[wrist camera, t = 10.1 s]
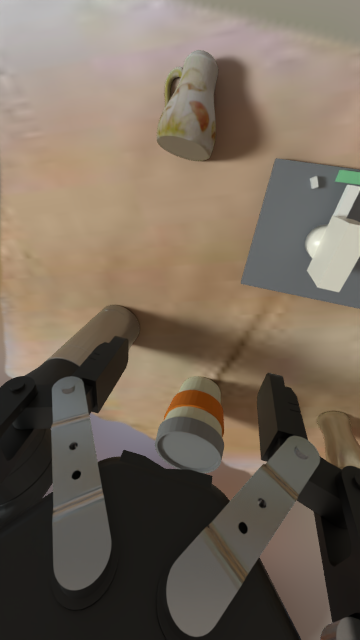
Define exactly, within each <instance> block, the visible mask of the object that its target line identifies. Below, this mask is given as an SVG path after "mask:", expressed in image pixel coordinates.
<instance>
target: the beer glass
mask: <svg viewBox="0 0 360 640" xmlns="http://www.w3.org/2000/svg"><path fill="white" fill-rule="evenodd" d="M317 424H318V426H319V428H320V430H321V432H322V434H323V438H324V444H325V457H326V461H328V462H329V463H331V464H333V465H335V466H337V467H338V468H340V469H343V468H344V467H346V466H355V467H357V468H360V445H359V443H358V442H357V440H356V439H355V437H354V435H353V432H352V427H351V421H350V419H349V417H348V416H347V415H345V414H344V413H341V412H337V411H329V412H325V413H323V414H321V415H320V416H319V417H318V418H317Z"/></svg>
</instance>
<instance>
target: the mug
mask: <svg viewBox="0 0 360 640" xmlns="http://www.w3.org/2000/svg"><path fill="white" fill-rule="evenodd" d="M176 77H180V82H179V85H178V87H177V89H176V90H175V92H174V94H173V96H172V97H171V99H170V90H171V84H172V81H173V80H174V78H176ZM217 77H218V66H217V64H216V61H215V59H214V58H213V57H212V55H210V54H209V53H207V52H205V51H201V50H197V51H194V52H192V53H191V54H190V55H189V56H188V57H187V58H186V60H185V63H184V67H183V68H182V67H176V68H175V69H173V70H172V71H171V72H170V74H169V75H168V77H167V79H166V82H165V94H164V95H165V109H164V111H163V113H162V115H161V117H160V120H159V123H158V128H157V142H158V144H159V145H160V146H161V147H162V148H163V149H164V150H166V151H168V152H170V153H172V154H174V155H176V156H179V157H182V158H185V159H188V160H193V161H203V160H206V159H208V158H210V156H211V153H212V150H213V147H214V144H215V138H216V122H215V109H214V91H215V86H216V81H217Z"/></svg>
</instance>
